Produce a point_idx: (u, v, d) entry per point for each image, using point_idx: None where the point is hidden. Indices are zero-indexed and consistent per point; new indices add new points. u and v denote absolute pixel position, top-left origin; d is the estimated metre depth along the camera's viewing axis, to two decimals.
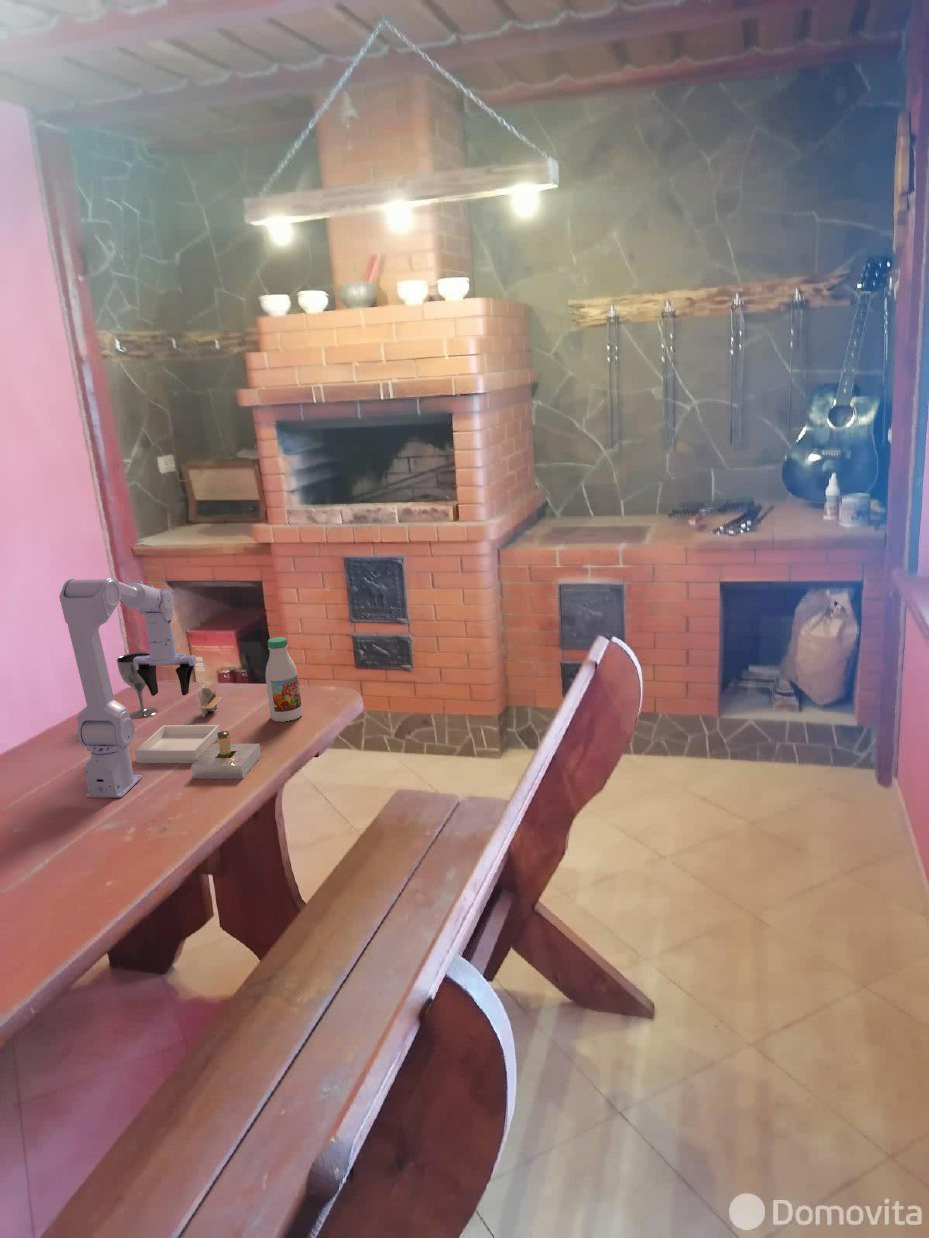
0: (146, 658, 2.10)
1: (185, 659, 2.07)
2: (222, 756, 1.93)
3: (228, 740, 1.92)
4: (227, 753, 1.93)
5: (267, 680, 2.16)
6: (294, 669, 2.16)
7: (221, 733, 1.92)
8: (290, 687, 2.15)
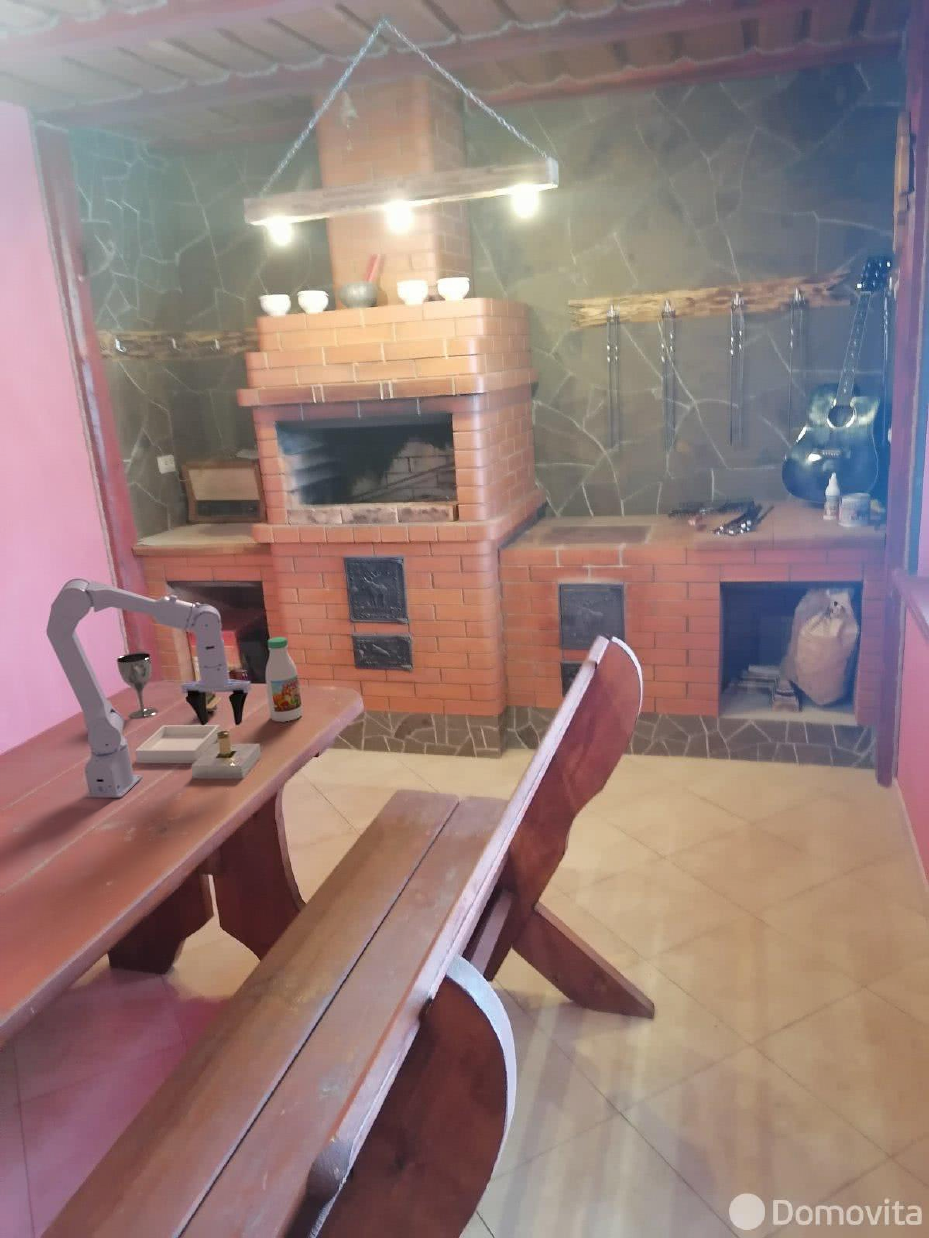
0: (195, 684, 1.90)
1: (239, 685, 1.87)
2: (222, 756, 1.93)
3: (228, 740, 1.92)
4: (227, 753, 1.93)
5: (267, 680, 2.16)
6: (294, 669, 2.16)
7: (221, 733, 1.92)
8: (290, 687, 2.15)
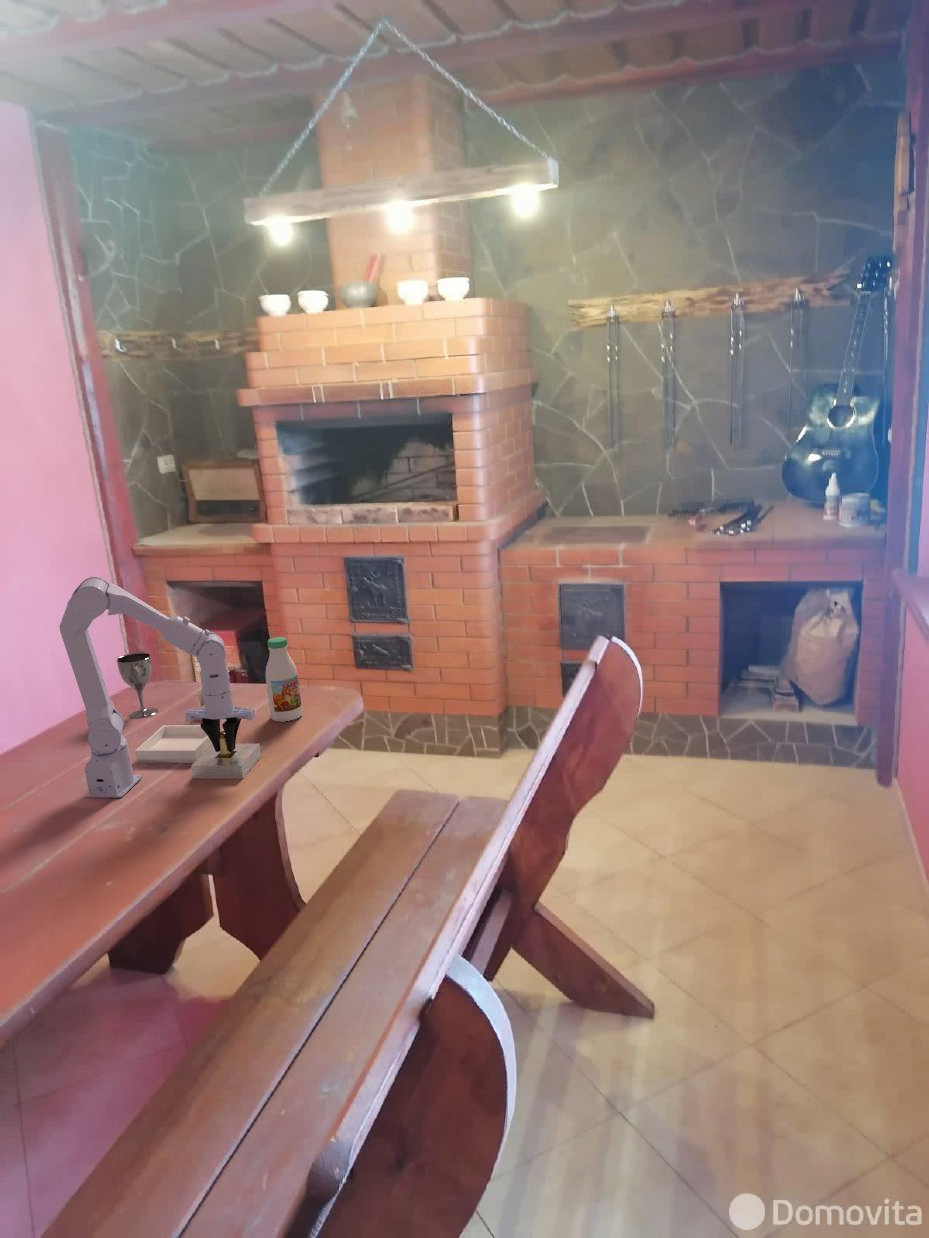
0: (200, 711, 1.91)
1: (243, 713, 1.89)
2: (222, 756, 1.93)
3: None
4: (227, 753, 1.93)
5: (267, 680, 2.16)
6: (294, 669, 2.16)
7: (221, 733, 1.92)
8: (290, 687, 2.15)
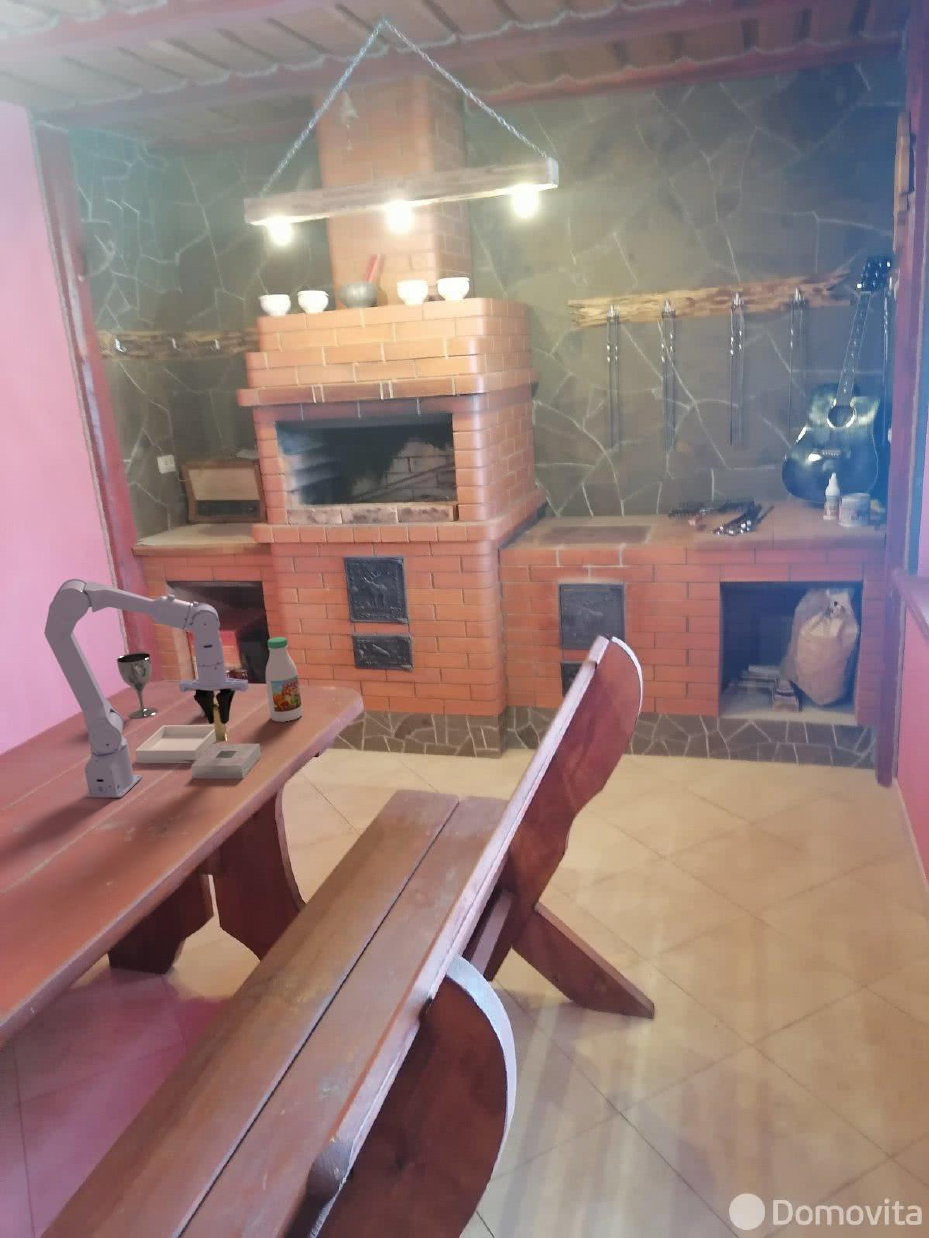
0: (193, 683, 1.90)
1: (237, 684, 1.88)
2: (216, 728, 1.91)
3: None
4: (221, 725, 1.91)
5: (267, 680, 2.16)
6: (294, 669, 2.16)
7: (215, 705, 1.91)
8: (290, 687, 2.15)
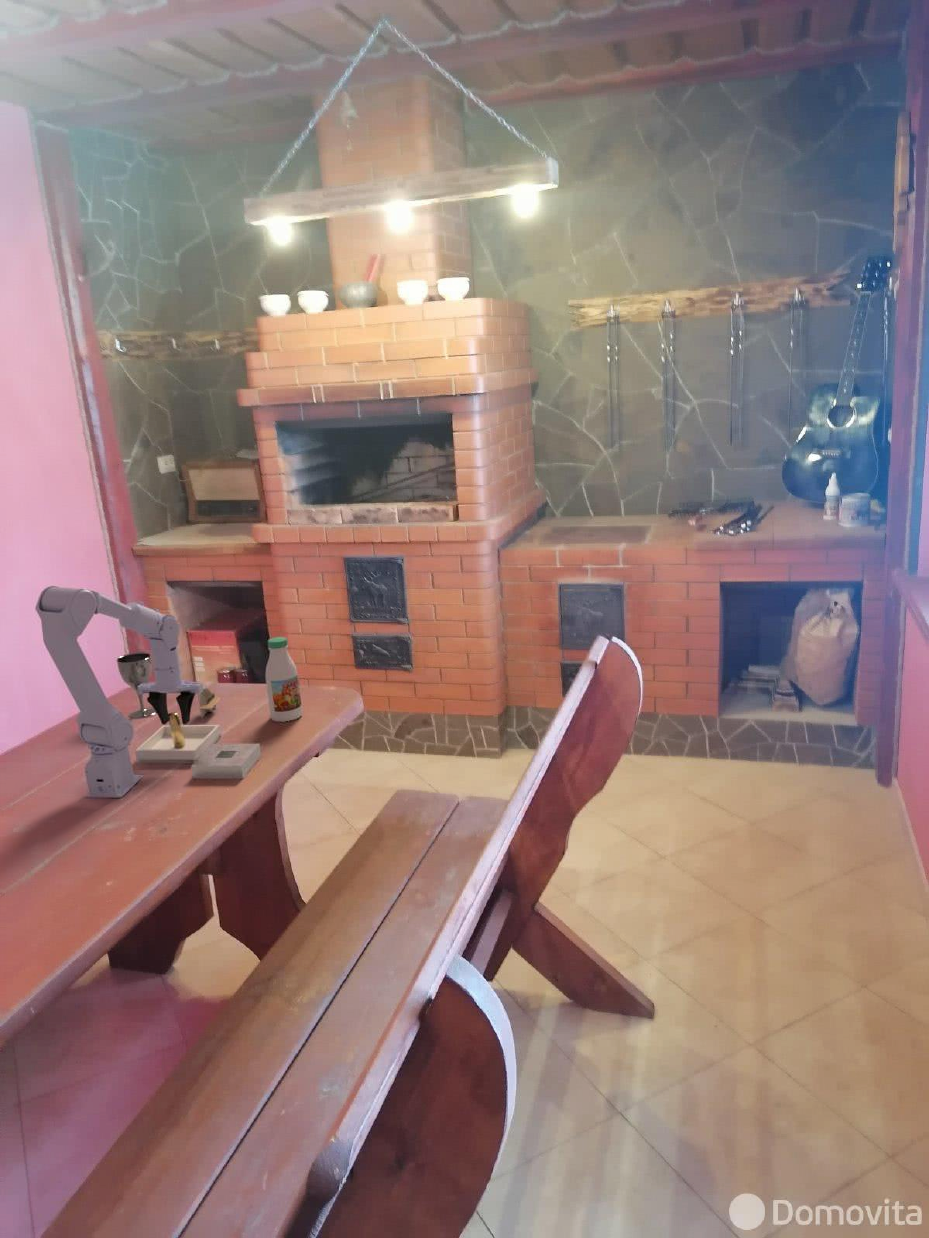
0: (151, 685, 2.01)
1: (191, 687, 1.99)
2: (174, 736, 2.03)
3: (178, 720, 2.03)
4: (178, 733, 2.03)
5: (267, 680, 2.16)
6: (294, 669, 2.16)
7: (171, 714, 2.03)
8: (290, 687, 2.15)
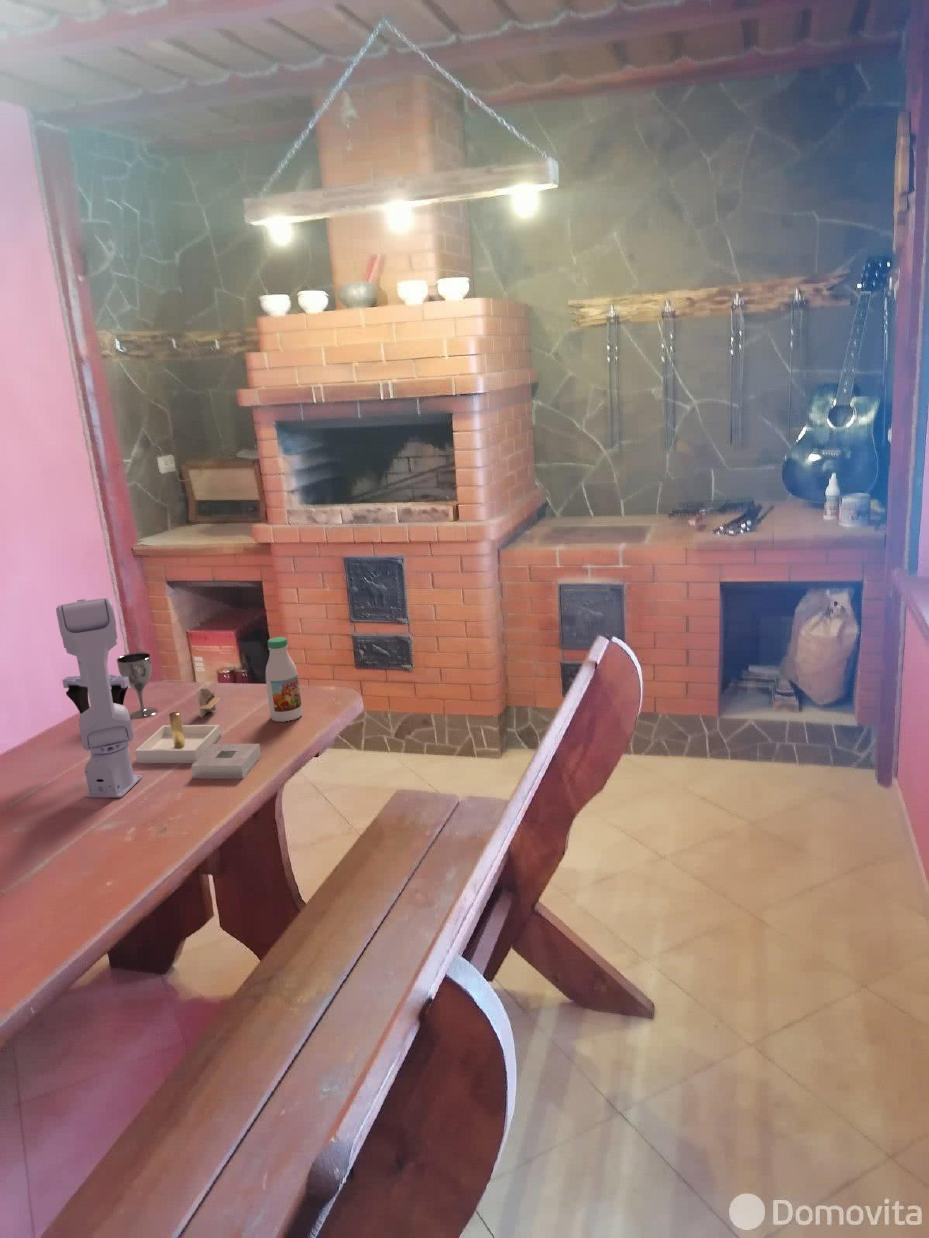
0: (76, 679, 1.97)
1: (117, 681, 1.94)
2: (174, 736, 2.03)
3: (179, 721, 2.03)
4: (179, 733, 2.03)
5: (267, 680, 2.16)
6: (294, 669, 2.16)
7: (173, 714, 2.03)
8: (290, 687, 2.15)
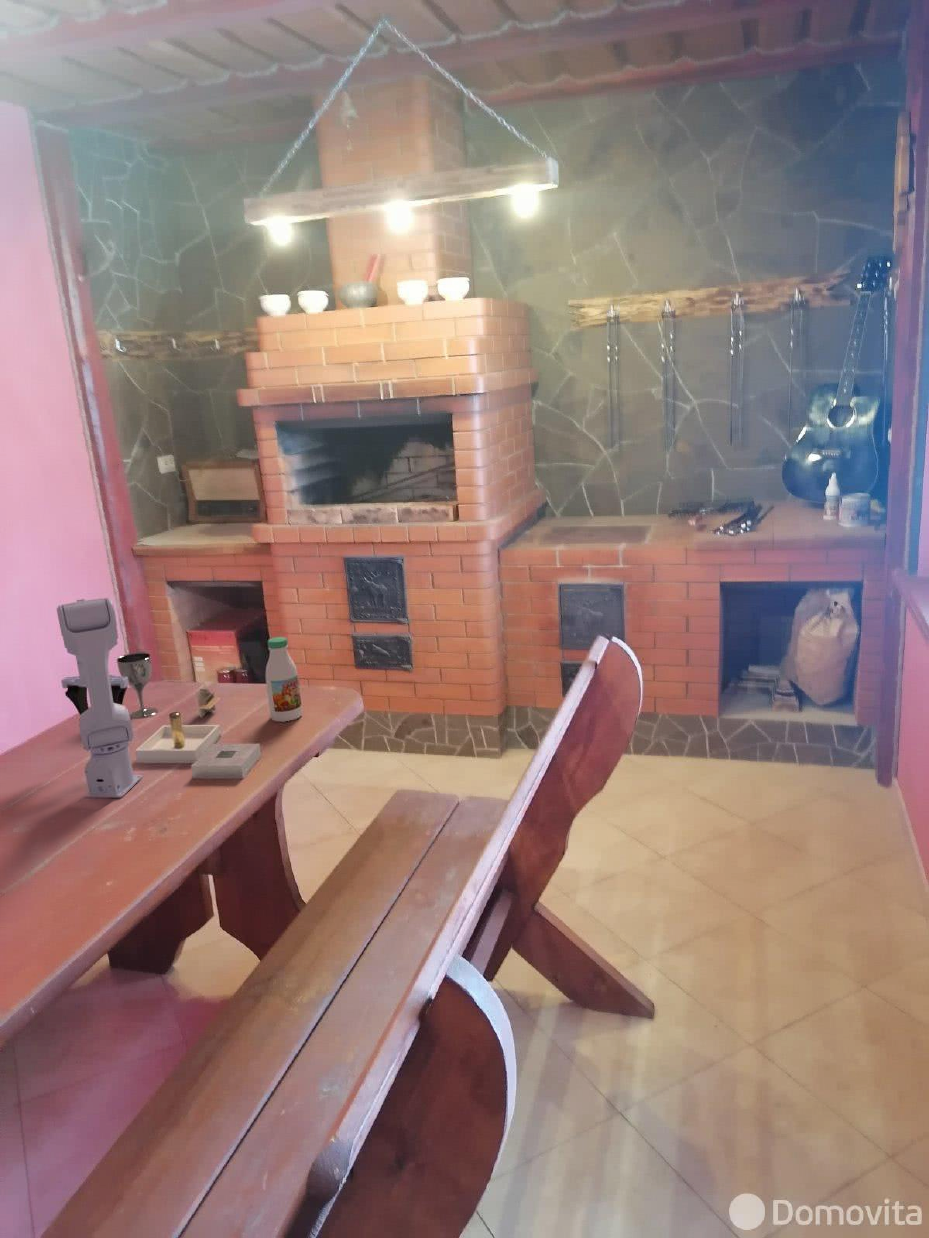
0: (75, 679, 1.97)
1: (116, 681, 1.94)
2: (174, 736, 2.03)
3: (179, 721, 2.03)
4: (179, 733, 2.03)
5: (267, 680, 2.16)
6: (294, 669, 2.16)
7: (173, 714, 2.03)
8: (290, 687, 2.15)
